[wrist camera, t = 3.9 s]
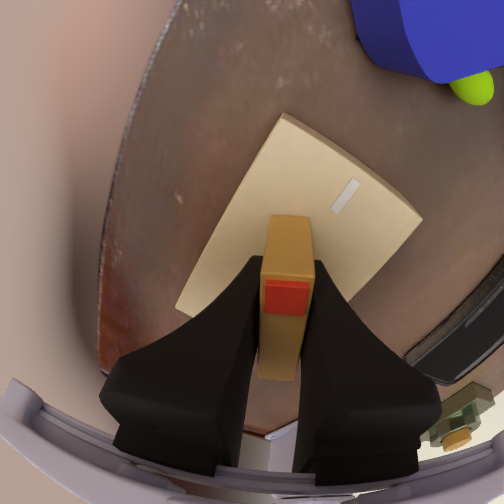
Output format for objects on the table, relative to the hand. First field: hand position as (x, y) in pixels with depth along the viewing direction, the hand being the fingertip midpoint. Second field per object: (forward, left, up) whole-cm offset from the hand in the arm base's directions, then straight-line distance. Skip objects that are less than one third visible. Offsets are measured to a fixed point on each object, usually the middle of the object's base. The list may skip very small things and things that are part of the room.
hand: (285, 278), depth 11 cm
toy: (+15, +1, -3) cm, 15 cm away
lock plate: (0, 0, -3) cm, 3 cm away
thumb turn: (0, 0, 0) cm, 0 cm away
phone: (+4, -16, -3) cm, 17 cm away
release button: (-8, -29, 0) cm, 31 cm away
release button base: (-8, -29, -3) cm, 31 cm away
